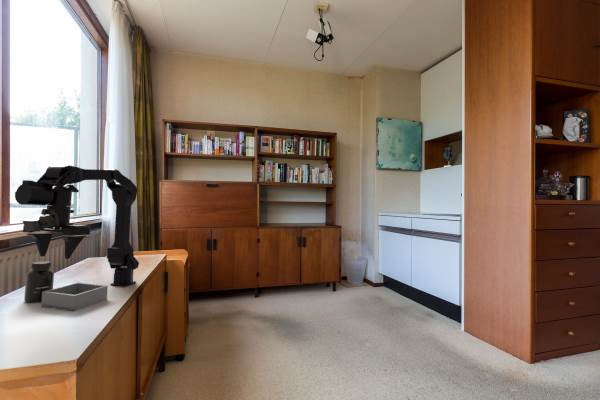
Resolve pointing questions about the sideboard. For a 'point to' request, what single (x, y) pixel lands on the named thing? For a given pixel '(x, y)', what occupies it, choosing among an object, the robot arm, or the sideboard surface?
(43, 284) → the supplement bottle
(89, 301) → the open box
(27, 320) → the sideboard surface
